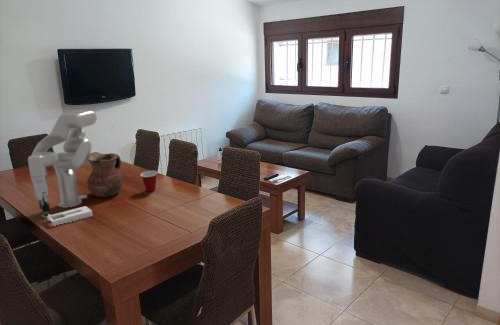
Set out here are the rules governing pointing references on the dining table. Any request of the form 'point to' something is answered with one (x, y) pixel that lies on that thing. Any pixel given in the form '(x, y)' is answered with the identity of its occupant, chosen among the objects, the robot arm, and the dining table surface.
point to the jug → (104, 175)
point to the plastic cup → (149, 180)
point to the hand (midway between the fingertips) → (44, 209)
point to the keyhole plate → (70, 215)
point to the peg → (44, 212)
